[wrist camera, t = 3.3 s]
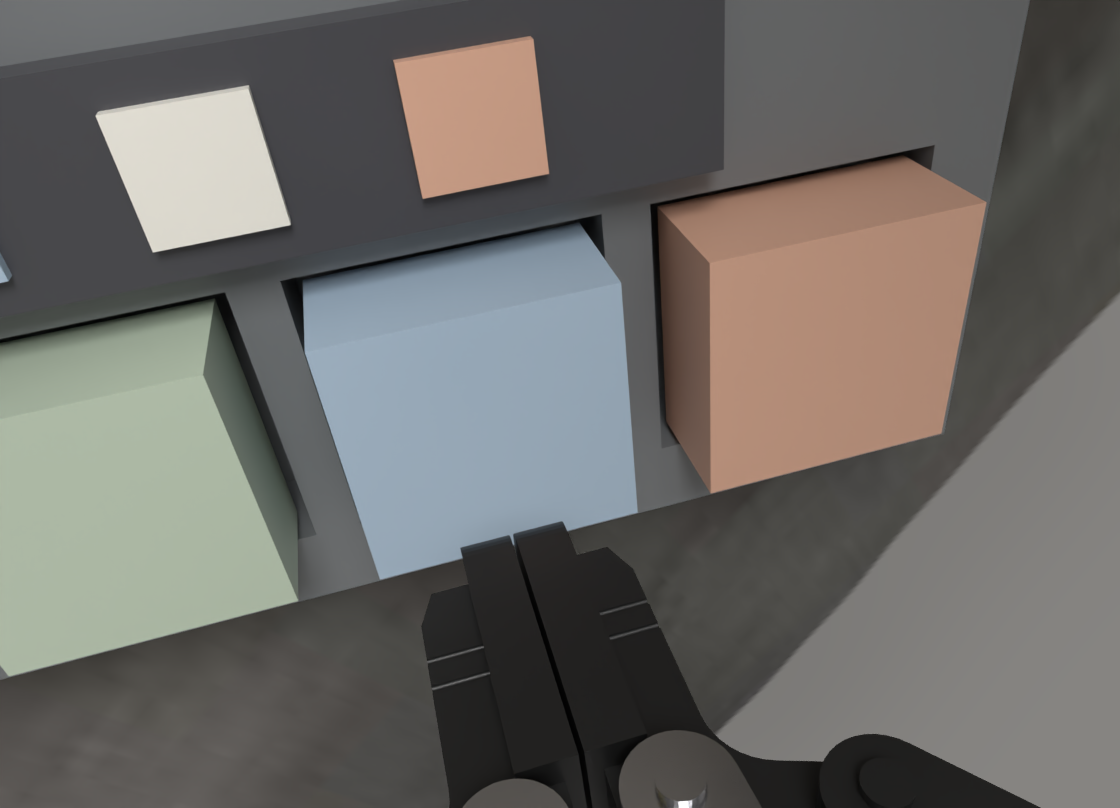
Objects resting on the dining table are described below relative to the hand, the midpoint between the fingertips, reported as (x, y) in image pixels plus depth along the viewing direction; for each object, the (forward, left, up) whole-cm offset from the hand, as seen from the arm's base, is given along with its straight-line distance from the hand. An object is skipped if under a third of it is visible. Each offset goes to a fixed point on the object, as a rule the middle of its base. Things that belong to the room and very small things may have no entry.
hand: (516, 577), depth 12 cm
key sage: (0, -6, -6) cm, 8 cm away
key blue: (0, 0, -6) cm, 6 cm away
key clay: (0, +7, -6) cm, 9 cm away
